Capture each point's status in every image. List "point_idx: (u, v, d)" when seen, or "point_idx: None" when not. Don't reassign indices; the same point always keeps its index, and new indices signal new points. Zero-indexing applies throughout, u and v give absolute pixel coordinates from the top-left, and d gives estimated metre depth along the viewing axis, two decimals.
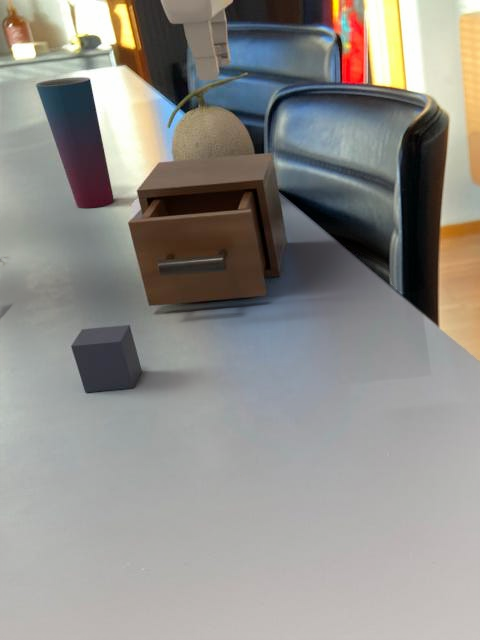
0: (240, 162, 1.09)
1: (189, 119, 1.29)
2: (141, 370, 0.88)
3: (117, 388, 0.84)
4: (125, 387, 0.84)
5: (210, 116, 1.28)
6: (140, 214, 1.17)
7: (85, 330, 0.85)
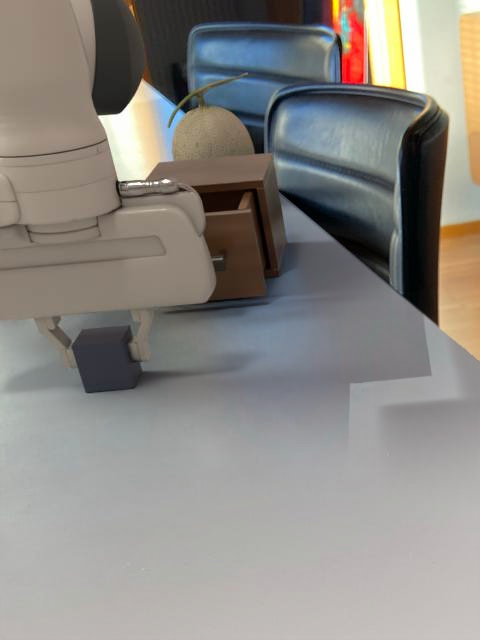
0: (240, 162, 1.09)
1: (189, 119, 1.29)
2: (141, 370, 0.88)
3: (117, 388, 0.84)
4: (125, 387, 0.84)
5: (210, 116, 1.28)
6: None
7: (85, 330, 0.85)
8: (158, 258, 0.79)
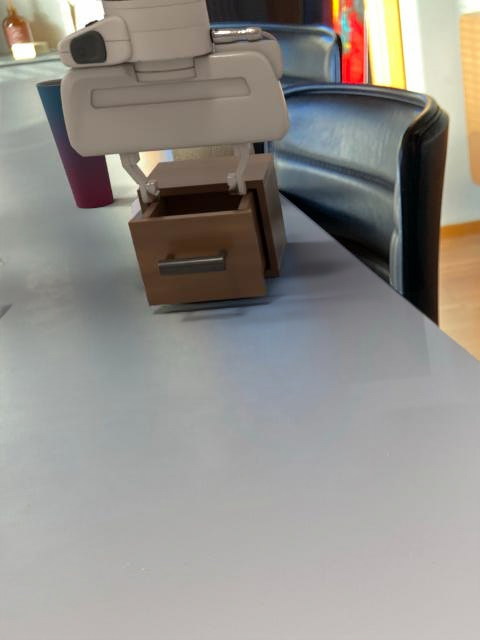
0: None
1: None
2: None
3: None
4: None
5: None
6: (140, 214, 1.17)
7: None
8: (244, 97, 0.93)
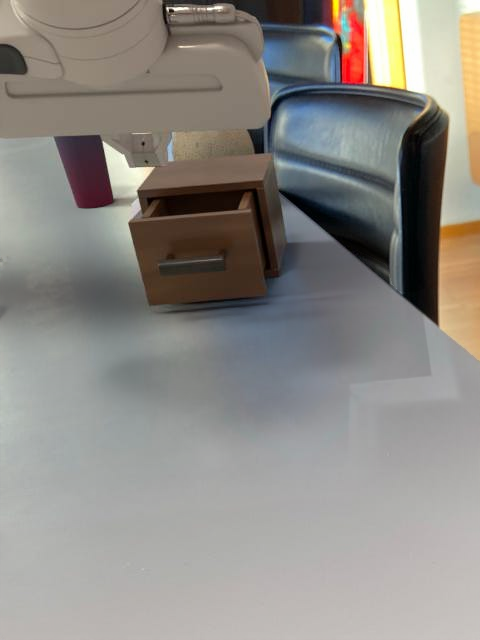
0: (240, 162, 1.09)
1: None
2: None
3: None
4: None
5: None
6: (140, 214, 1.17)
7: None
8: (214, 93, 0.70)
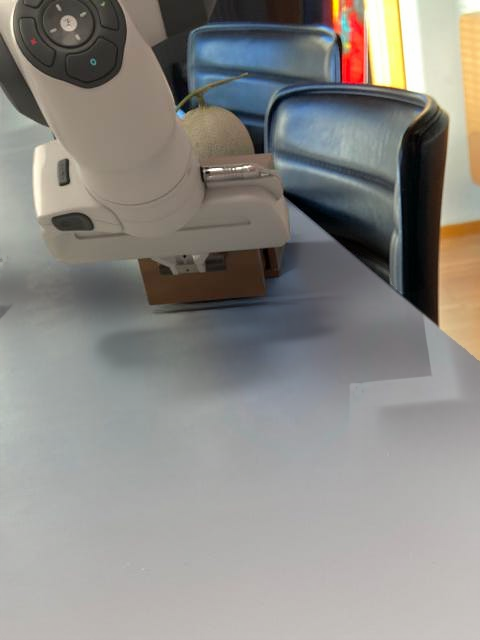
0: (240, 162, 1.09)
1: (189, 119, 1.29)
2: None
3: None
4: None
5: (210, 116, 1.28)
6: None
7: None
8: (243, 226, 0.85)
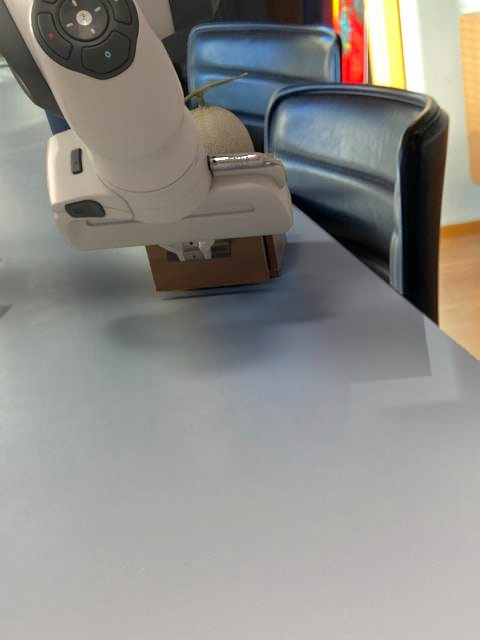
0: None
1: None
2: None
3: None
4: None
5: (210, 116, 1.28)
6: None
7: None
8: (248, 214, 0.88)
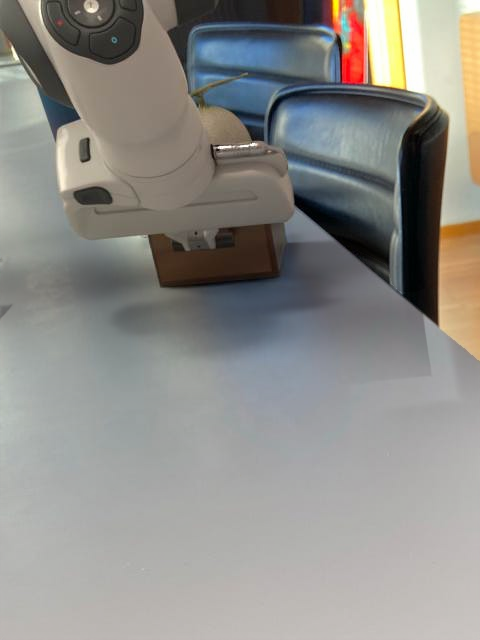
0: None
1: None
2: None
3: None
4: None
5: (210, 116, 1.28)
6: None
7: None
8: (250, 202, 0.91)
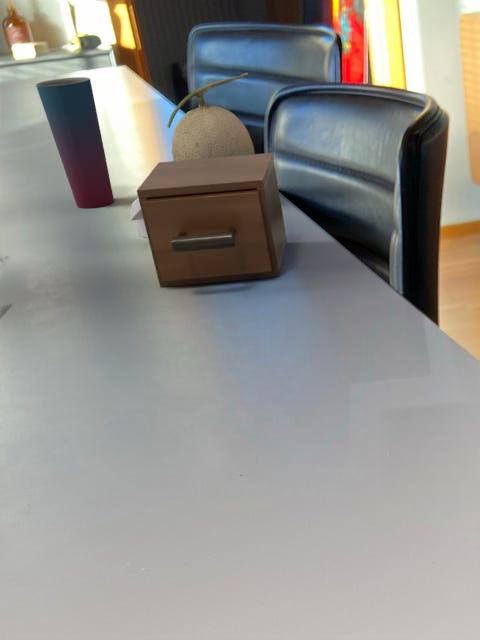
0: (240, 162, 1.09)
1: (189, 119, 1.29)
2: None
3: None
4: None
5: (210, 116, 1.28)
6: (140, 214, 1.17)
7: None
8: None
